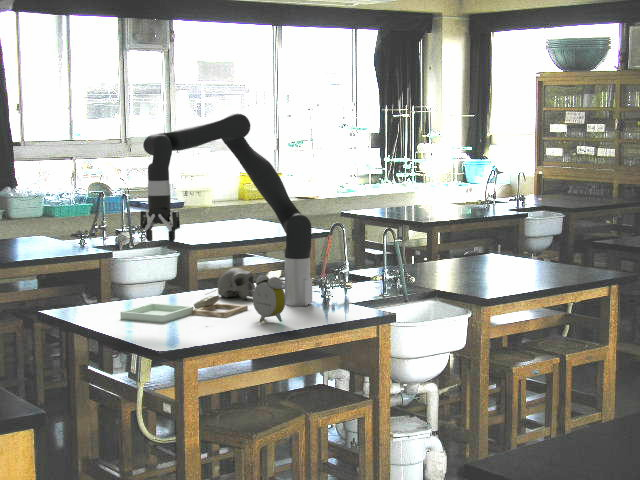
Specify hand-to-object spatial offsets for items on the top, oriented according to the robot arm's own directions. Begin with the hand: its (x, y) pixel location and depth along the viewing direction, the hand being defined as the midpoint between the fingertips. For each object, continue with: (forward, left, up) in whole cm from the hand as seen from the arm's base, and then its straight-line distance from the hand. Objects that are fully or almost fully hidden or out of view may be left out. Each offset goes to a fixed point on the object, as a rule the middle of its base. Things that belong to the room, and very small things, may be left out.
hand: (160, 241), depth 354 cm
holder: (-15, -14, -26) cm, 33 cm away
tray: (+1, +2, -26) cm, 26 cm away
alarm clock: (-37, -6, -26) cm, 46 cm away
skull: (-6, -43, -26) cm, 51 cm away
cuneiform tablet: (-14, -14, -20) cm, 28 cm away
